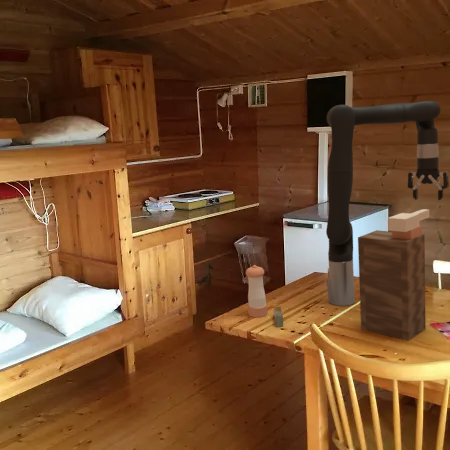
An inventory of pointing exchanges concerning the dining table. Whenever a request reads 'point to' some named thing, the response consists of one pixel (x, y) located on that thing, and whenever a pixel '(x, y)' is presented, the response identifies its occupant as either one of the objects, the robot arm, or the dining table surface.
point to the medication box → (278, 316)
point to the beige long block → (407, 220)
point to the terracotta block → (407, 234)
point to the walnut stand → (392, 284)
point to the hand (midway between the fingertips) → (428, 199)
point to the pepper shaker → (256, 292)
